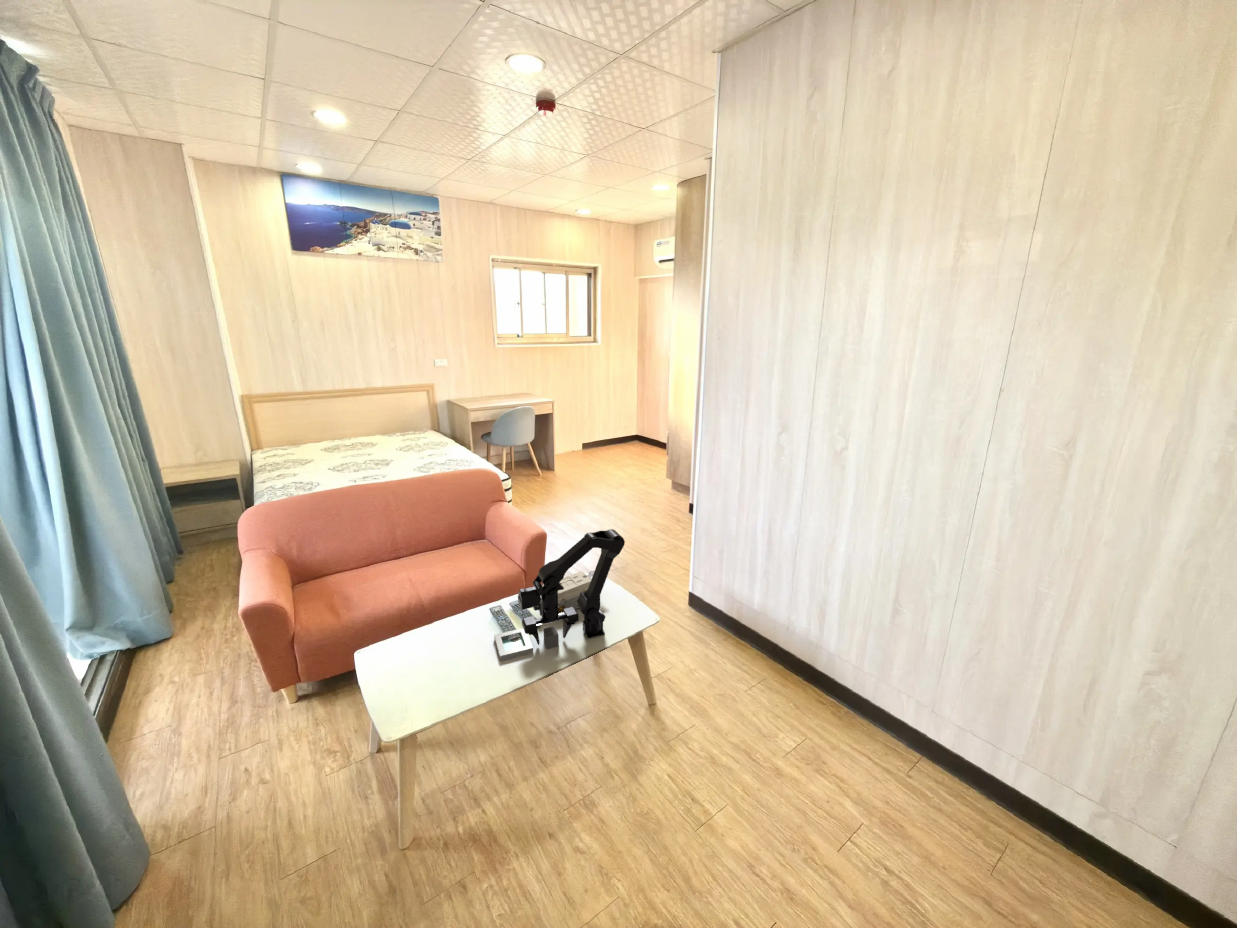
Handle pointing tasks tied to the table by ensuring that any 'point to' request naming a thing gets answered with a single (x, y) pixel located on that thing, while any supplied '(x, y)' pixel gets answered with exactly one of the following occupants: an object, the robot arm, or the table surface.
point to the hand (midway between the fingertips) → (551, 640)
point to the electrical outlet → (573, 589)
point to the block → (551, 637)
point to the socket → (513, 644)
